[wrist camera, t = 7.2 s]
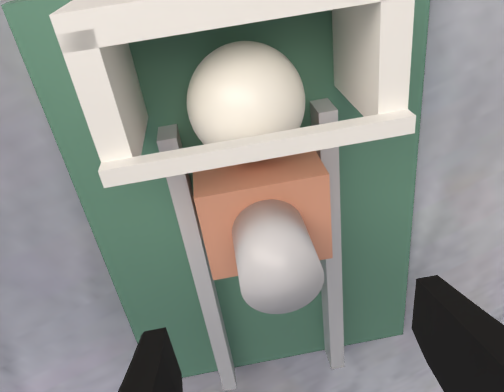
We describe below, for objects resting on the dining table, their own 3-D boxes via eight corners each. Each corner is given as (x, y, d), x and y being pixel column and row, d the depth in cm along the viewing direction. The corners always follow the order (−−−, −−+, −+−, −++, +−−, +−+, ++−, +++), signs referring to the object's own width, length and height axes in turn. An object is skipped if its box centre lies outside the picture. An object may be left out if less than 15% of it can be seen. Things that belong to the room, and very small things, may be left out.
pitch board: (396, 322, 29) (413, 353, 27) (154, 369, 28) (152, 405, 26) (422, -64, 17) (456, -63, 15) (10, 1, 16) (-16, 11, 14)
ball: (325, 105, 14) (293, 4, 15) (184, 129, 13) (169, 24, 15) (312, 171, 18) (288, 85, 19) (203, 191, 17) (190, 102, 19)
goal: (356, 81, 19) (414, 133, 14) (124, 121, 18) (104, 188, 14) (356, -51, 16) (427, -43, 11) (85, -9, 16) (42, 19, 11)
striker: (309, 206, 22) (356, 311, 16) (208, 224, 21) (217, 338, 15) (304, 131, 19) (356, 220, 13) (192, 150, 19) (195, 250, 13)
